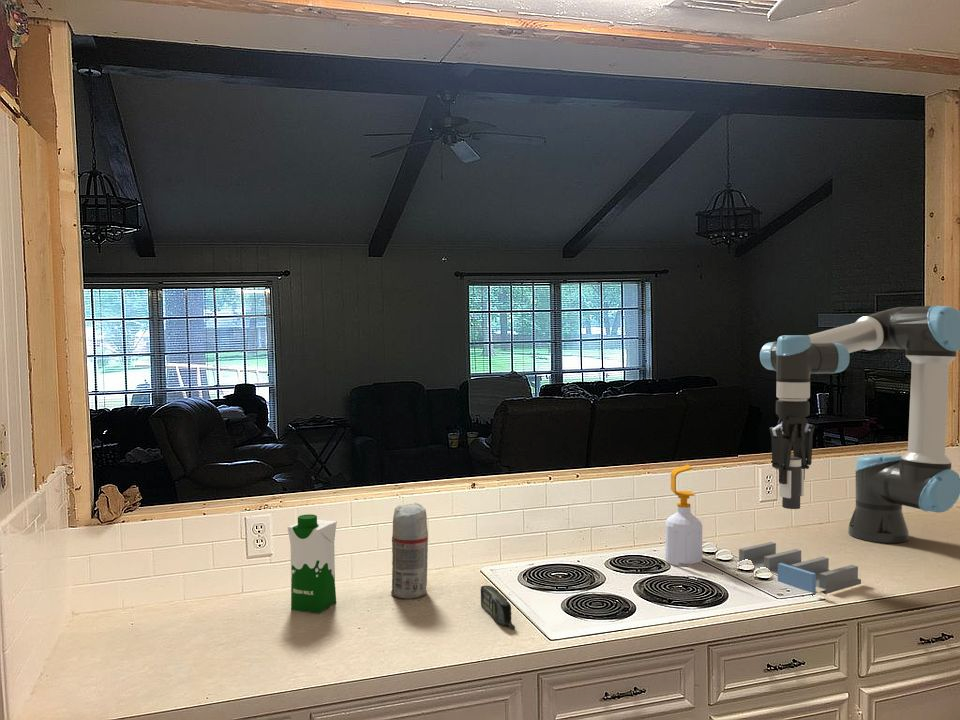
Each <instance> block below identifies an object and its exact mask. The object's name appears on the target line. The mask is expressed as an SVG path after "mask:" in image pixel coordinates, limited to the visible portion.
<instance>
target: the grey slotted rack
mask: <svg viewBox="0 0 960 720" xmlns="http://www.w3.org/2000/svg"><path fill="white" fill-rule="evenodd" d="M776 549H777V543H776V542H773V541H769V542H765V543H764V542H763V543H760V544H755V545H751V546H747V547H742V548H739V549H738V560H737V559H736V562H738V563H741V562H740V561H742V560H745V559H748V560H751V561H752V563H753V565H754V568H757V569H760V567H766V568H768V569H769V570H770V573H773V574H776V575H778V564H779V563H783V564H786V565H790V566H793V567H796V568H799V569H803V570H806V571H809V572H812V573H816V588H818V589H822V590H820V591H819V593H822V594H824V595H827V594H831V593H835V592H837V591H841V590H844V589H847V588H851V587H855V586H858V585H861V584H862V579H860V578H859V573H858V572H859V566H858V565H854V564H849V565H845V566H843V567H839V568H835V569H831V570H830V567H829V564H830V563H829V557H825V556H818V557H816V558H813V559H808V560H804V561H802V550H801V549H797V548H795V549H790V550H785V551H781V552H777V550H776ZM776 552H777V553H776Z"/></svg>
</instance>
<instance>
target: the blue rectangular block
mask: <svg viewBox="0 0 960 720" xmlns="http://www.w3.org/2000/svg"><path fill="white" fill-rule="evenodd" d="M777 582H780V583H782V584H785V585H788V586H792V587H794V588H796V589H800V590H803V591H806V592H809V593H811V594H809V595H812V596H813V595H816V592H817V589H816V588H817V587H816V573H812V572H809V571H806V570H803V569H799V568H796V567H793V566H790V565H786V564H783V563H779V564H778V574H777ZM813 597H814V596H813Z"/></svg>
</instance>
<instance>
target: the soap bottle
mask: <svg viewBox="0 0 960 720" xmlns="http://www.w3.org/2000/svg"><path fill="white" fill-rule="evenodd" d="M692 469H693V468H692V466H690V464H686V465H685V464H684V465H682V466H679V467H675V468H674V469H672V470H671V472H670V491H672V492H673V493H674V494H675V495H676V496H678V499H680V502H677V504H676V512H675V513H673V514H671V515H670V516H669V517H668V518H666V519H665V526H664V528H665V529H664V530H665V531H664V532H665V538H664V543H665V547H664V551H665V554H664V555H665V557H664V558H665V562H667V563H668V564H670V565H671V566H676V567H682V568H688V567H689V566H687V565H688V564H689V565H690V564H691V565H692V564H697V563H701V562H702V561H703V525H702V522H701V520H700V518H698V517H697V516H696V515H694V514H692V512H691V507H692V506H691V503H689V502H688V499H690V497H694V496H695V493H694V492H693V491H692V490H691V491H690V490H677V476H678V475H679V474H681V473H684V472H687V471H690V470H692ZM686 564H687V565H686Z"/></svg>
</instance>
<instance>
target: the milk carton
mask: <svg viewBox="0 0 960 720" xmlns="http://www.w3.org/2000/svg"><path fill="white" fill-rule="evenodd" d="M337 522H338V521H336V520H325V519H318V516H317V515H316V514H309V513H308V514H302V515H301V514H300V515H299V516H298V517H297V522H295V523H294V524H291V525H288V526H287V532H288V537H289V544H290V545H289V546H290V583H291V584H290V587H291V588H290V592H291V593H290V595H291V597H290V610H292V611H298V612H307V613H312V614H313V613H314V614H321V613H322V612H324V611H326V610H327V609H328V608H330V607H331V606H333V605H334V604H336V603H337V593H336V568H335V567H336V566H335V565H336V564H335V558H336V557H335V540H336V539H335V537H336V532H337V531H336V529H337Z"/></svg>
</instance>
